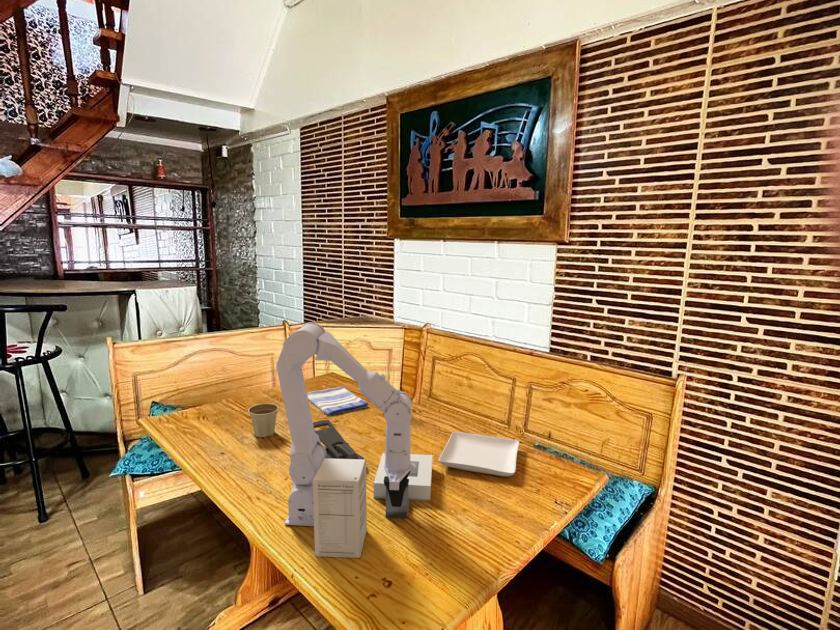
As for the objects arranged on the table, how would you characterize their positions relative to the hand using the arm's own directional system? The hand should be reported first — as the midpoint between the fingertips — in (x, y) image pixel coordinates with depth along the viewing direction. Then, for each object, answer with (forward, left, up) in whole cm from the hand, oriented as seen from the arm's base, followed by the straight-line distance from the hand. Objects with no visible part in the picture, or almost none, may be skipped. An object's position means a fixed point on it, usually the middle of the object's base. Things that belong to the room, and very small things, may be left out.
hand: (397, 502), depth 104 cm
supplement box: (-11, +11, -3) cm, 15 cm away
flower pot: (+39, +48, -3) cm, 62 cm away
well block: (+14, 0, -3) cm, 15 cm away
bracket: (+1, 0, -3) cm, 3 cm away
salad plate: (+29, -21, -4) cm, 37 cm away
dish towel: (+70, +32, -4) cm, 77 cm away
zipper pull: (+27, +21, -4) cm, 34 cm away
